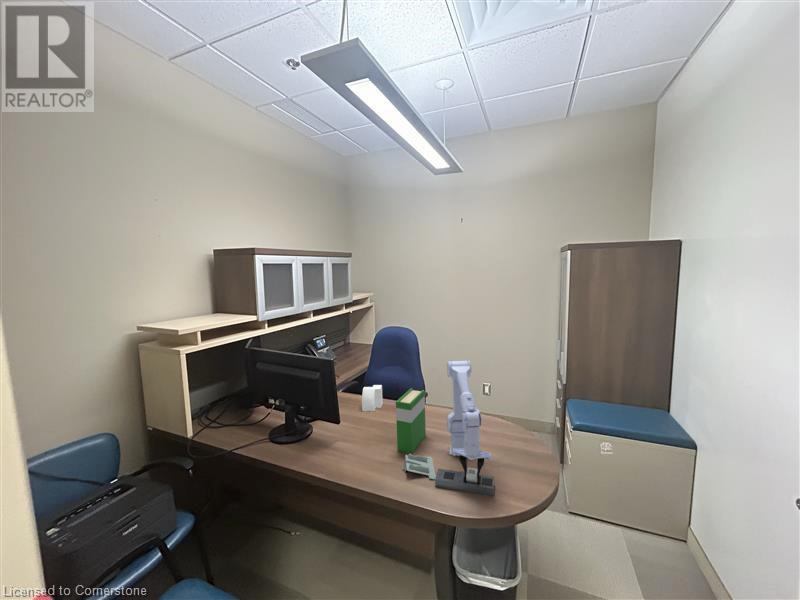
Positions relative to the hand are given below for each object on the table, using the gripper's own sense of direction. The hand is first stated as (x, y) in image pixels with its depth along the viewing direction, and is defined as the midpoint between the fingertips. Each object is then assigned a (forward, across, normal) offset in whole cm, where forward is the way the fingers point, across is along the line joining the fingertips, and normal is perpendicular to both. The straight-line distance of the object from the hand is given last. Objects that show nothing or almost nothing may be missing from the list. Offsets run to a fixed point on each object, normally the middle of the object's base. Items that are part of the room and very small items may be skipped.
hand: (472, 474), depth 128 cm
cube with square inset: (+3, 0, 0) cm, 3 cm away
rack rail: (+5, -3, 0) cm, 6 cm away
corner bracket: (+5, -65, +58) cm, 87 cm away
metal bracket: (+6, -23, +6) cm, 24 cm away
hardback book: (+5, -31, +25) cm, 40 cm away
